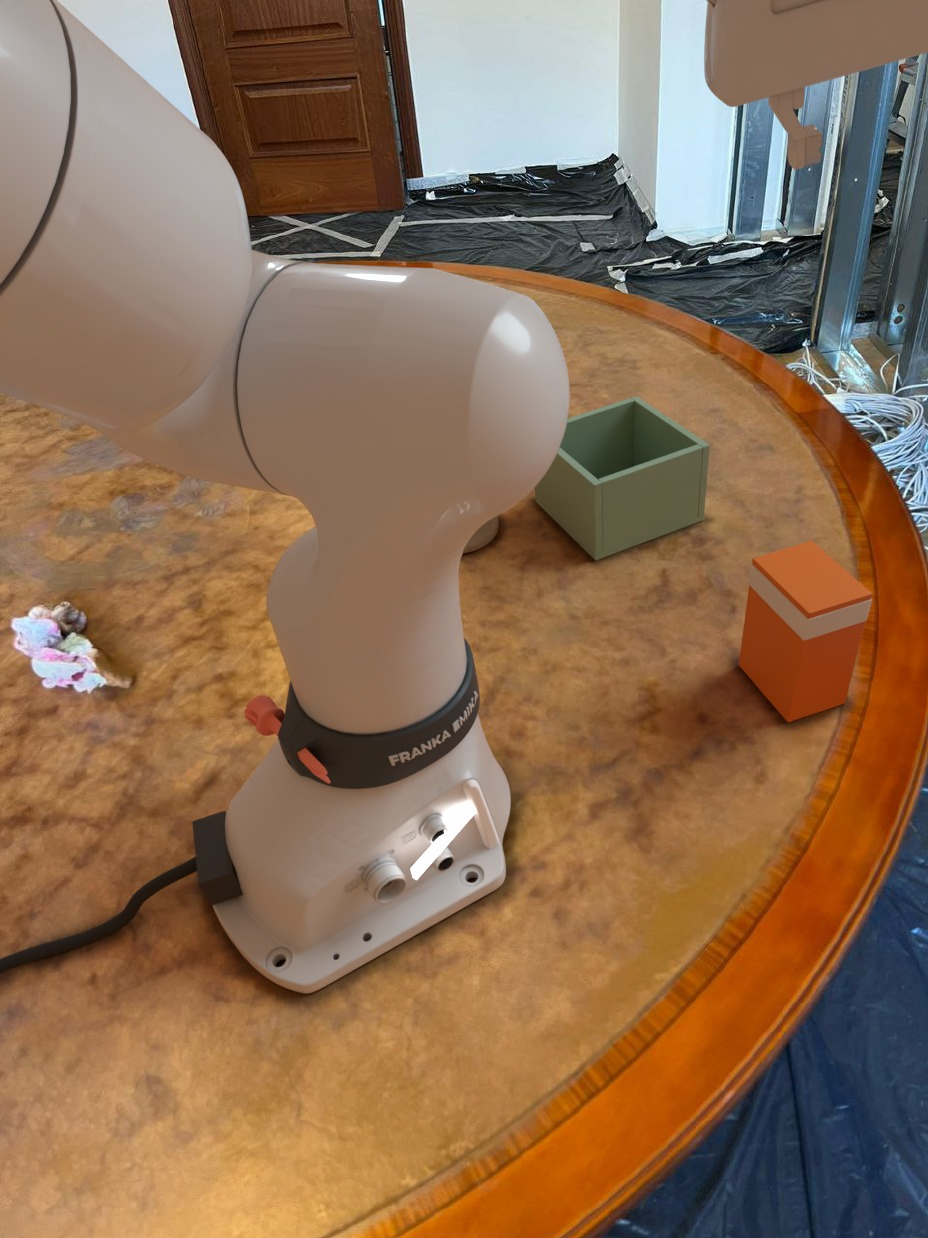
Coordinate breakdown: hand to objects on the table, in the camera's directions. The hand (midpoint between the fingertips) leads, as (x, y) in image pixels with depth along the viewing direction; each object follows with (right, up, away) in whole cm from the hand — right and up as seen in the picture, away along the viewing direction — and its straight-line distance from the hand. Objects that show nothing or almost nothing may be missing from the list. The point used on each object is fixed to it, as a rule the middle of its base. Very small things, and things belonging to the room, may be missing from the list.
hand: (885, 141), depth 51 cm
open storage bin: (-9, -17, +39) cm, 43 cm away
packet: (+1, -33, +18) cm, 38 cm away
